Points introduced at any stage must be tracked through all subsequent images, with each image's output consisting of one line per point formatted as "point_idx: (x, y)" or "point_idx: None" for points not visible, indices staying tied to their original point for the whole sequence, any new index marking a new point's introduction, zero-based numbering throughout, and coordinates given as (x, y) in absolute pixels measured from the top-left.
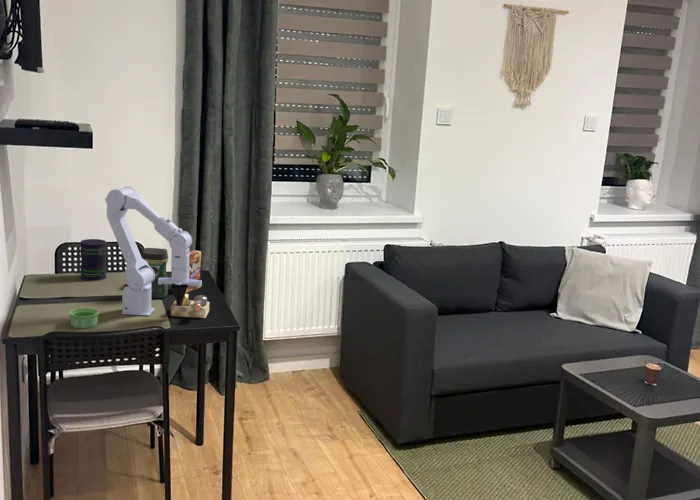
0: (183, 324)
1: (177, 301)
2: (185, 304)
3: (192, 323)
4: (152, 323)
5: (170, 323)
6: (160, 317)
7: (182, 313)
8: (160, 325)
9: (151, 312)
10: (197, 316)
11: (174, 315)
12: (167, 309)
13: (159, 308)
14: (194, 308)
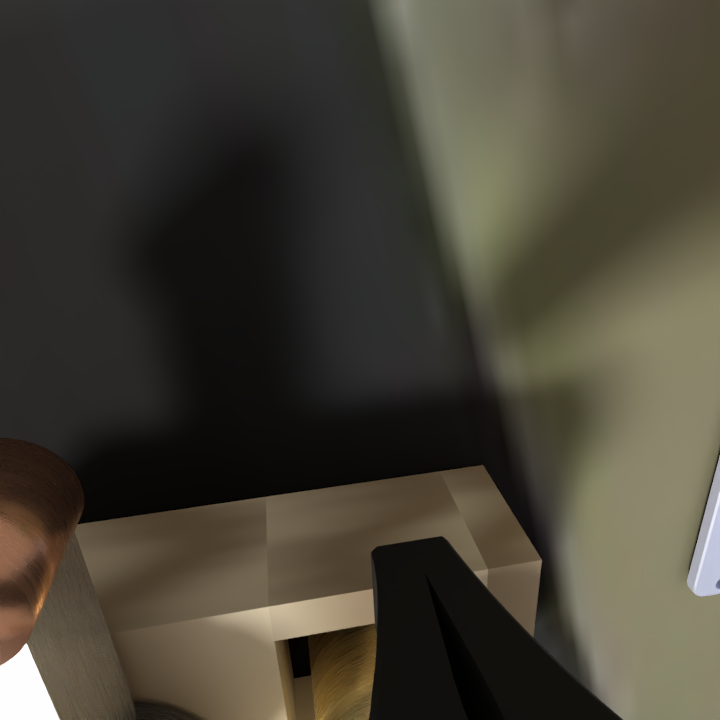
0: (205, 173)
1: (466, 598)
2: (340, 683)
3: (81, 264)
4: (686, 90)
5: (423, 166)
6: (597, 374)
7: (340, 515)
8: (560, 15)
9: (717, 474)
10: (121, 526)
11: (439, 477)
12: (552, 624)
13: (633, 620)
14: (6, 485)
